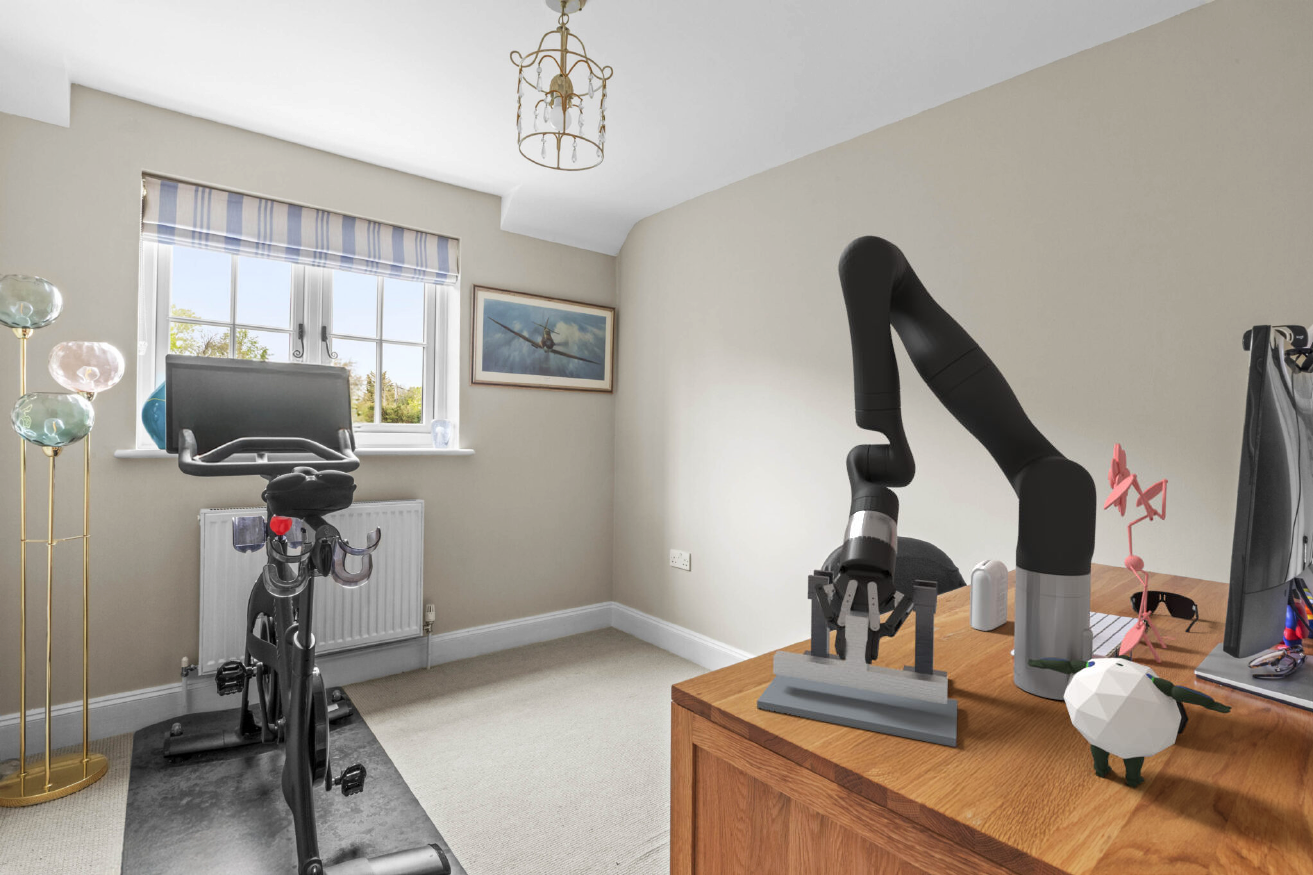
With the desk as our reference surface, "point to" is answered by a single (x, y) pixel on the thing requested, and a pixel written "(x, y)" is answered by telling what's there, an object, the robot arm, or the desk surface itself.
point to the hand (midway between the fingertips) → (855, 658)
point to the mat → (863, 709)
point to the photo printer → (988, 595)
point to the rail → (861, 668)
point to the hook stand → (923, 623)
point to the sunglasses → (1167, 605)
